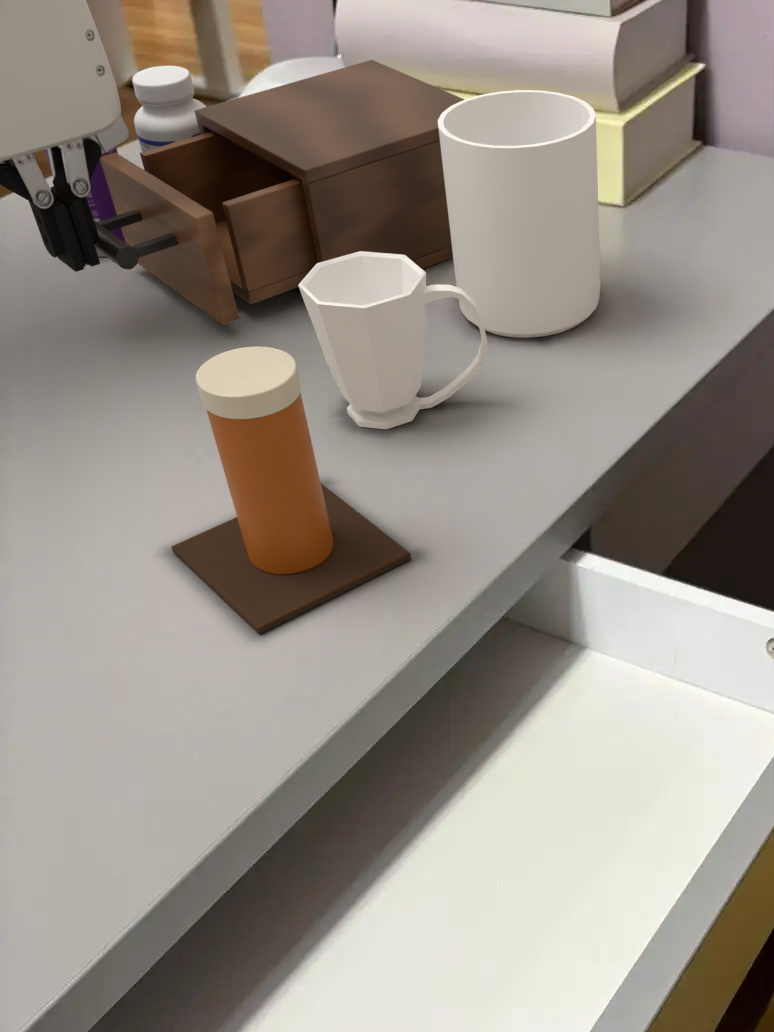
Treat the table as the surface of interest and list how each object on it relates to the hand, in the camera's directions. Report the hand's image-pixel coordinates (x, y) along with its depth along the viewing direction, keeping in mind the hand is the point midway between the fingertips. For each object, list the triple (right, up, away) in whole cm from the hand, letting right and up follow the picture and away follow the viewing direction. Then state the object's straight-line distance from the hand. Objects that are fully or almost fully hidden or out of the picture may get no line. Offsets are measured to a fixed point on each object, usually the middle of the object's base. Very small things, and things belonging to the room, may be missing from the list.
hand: (78, 260), depth 78 cm
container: (-3, +7, +13) cm, 15 cm away
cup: (+22, -11, -4) cm, 24 cm away
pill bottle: (+3, +10, +16) cm, 19 cm away
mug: (+28, 0, +5) cm, 29 cm away
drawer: (+8, +3, +7) cm, 11 cm away
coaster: (+17, -21, -14) cm, 30 cm away
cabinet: (+16, +7, +12) cm, 21 cm away
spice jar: (+17, -21, -14) cm, 30 cm away
